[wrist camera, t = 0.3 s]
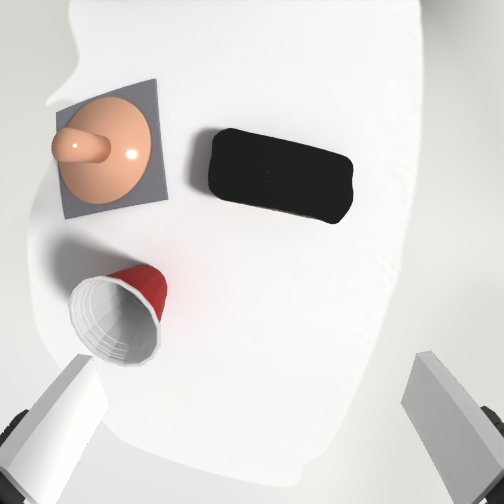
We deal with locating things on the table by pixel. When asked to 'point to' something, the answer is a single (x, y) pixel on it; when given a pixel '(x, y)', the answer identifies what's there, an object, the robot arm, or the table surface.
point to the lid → (103, 150)
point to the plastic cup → (120, 314)
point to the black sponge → (280, 175)
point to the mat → (154, 177)
